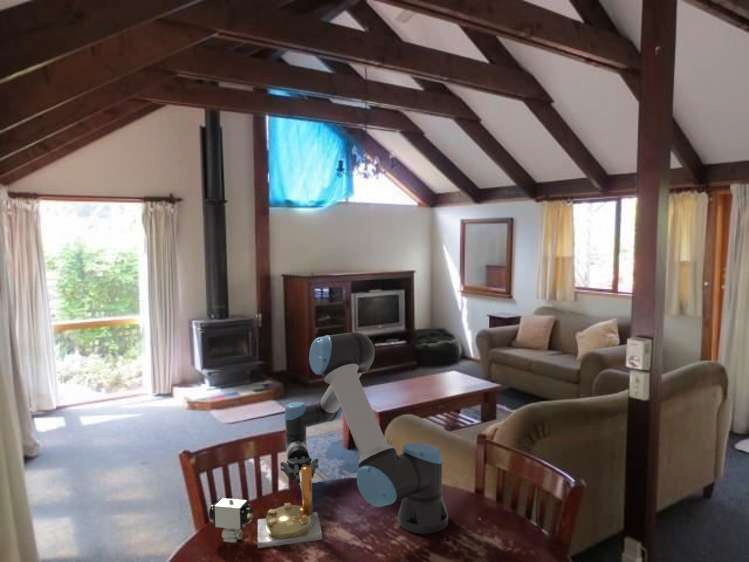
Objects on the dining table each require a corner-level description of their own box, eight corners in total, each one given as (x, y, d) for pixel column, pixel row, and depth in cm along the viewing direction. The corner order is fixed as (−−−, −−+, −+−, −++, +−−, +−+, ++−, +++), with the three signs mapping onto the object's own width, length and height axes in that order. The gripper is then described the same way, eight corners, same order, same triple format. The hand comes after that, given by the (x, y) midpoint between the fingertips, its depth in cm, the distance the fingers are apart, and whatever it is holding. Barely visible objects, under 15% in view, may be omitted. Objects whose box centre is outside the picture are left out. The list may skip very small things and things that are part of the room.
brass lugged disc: (310, 512, 161) (309, 458, 160) (315, 534, 148) (313, 476, 147) (266, 517, 158) (264, 463, 157) (266, 541, 145) (264, 481, 144)
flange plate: (317, 516, 161) (317, 512, 161) (322, 539, 149) (322, 534, 149) (257, 524, 157) (257, 519, 157) (257, 548, 145) (257, 542, 145)
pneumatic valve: (247, 546, 146) (246, 504, 145) (209, 542, 148) (207, 501, 147) (256, 535, 151) (254, 495, 150) (219, 532, 153) (217, 492, 153)
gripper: (316, 464, 183) (324, 495, 160) (279, 468, 181) (282, 500, 158) (316, 443, 183) (324, 471, 160) (278, 447, 180) (281, 476, 157)
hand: (303, 485), depth 159 cm, fingers closed
